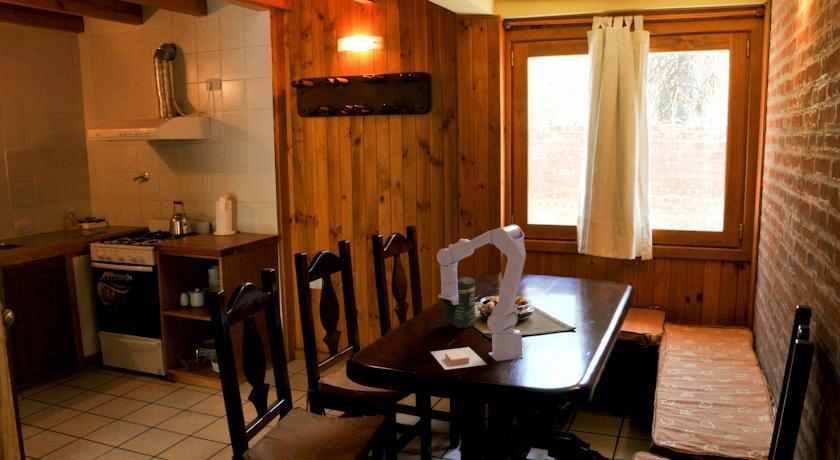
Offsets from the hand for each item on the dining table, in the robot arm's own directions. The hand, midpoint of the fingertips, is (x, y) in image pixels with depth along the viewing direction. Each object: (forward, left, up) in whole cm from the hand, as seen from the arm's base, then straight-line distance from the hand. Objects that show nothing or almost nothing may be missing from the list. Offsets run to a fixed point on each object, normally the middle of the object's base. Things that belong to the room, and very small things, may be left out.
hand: (450, 319), depth 235 cm
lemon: (-19, -7, -10) cm, 22 cm away
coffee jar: (-12, -22, -10) cm, 27 cm away
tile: (+3, +13, -8) cm, 16 cm away
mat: (+2, +14, -9) cm, 17 cm away
